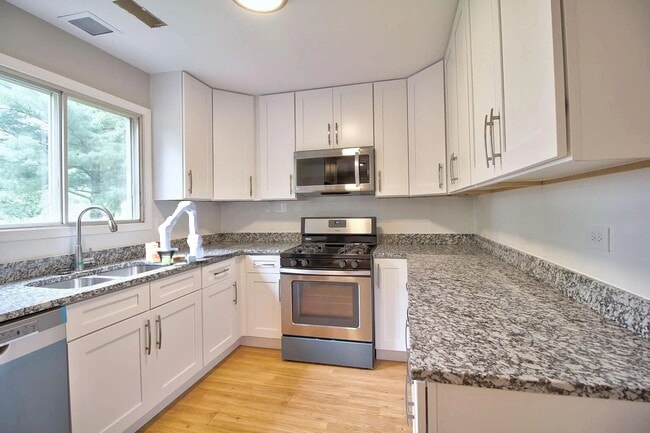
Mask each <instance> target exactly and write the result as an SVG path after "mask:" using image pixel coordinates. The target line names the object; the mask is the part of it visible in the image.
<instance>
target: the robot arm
mask: <svg viewBox="0 0 650 433" xmlns="http://www.w3.org/2000/svg"><path fill="white" fill-rule="evenodd" d="M196 205H197V204H196V203H195V202H194V201H181V202H179V204H178V205H177V206H178V207H177V208H176V210H175V212H174V213H173V214H172V216H169V217H167V219H166V221H165V222H164V223H163V224H161V225H160V226H159V227H158V232H159V235H160V249H154V253H155V252H157V253H158V255H159V257H160V260H161V262H160V263H161V264H162V257H163V256H162V254H163V253H164V252H165V253H166V252H169V256H170V261H172V257H173V256H174V254H175V252H177V251H179V248H178V247H171V233H172V231H173V227H174V226H175V225H176V224H177V222H178V218H179V217H180V216H181V215H182V214H183V213H184V212H186V213H187V214H188V216H189V217H188V218H189V235H188V236H187V238H188V239H187V244H188V247H189V251H190V252H189V253H190V254H189V255H193V254H195V255H196V259H203V257H204V258H205V256H204V254H205V253H204V252H205V251H204V246H203V238H202V235H201V234H199V224H198V214H197V207H196Z"/></svg>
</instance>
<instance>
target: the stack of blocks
mask: <svg viewBox="0 0 650 433" xmlns="http://www.w3.org/2000/svg"><path fill="white" fill-rule="evenodd" d="M154 249H161V247H159V243H156V242H150V243H145V251H146V252H145V254H146V255H145V256H146V258H145V259H146V260H147V261H148V262H150V263H161V260H160V257H159V255H158V253H157V252H155V253H154Z"/></svg>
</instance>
